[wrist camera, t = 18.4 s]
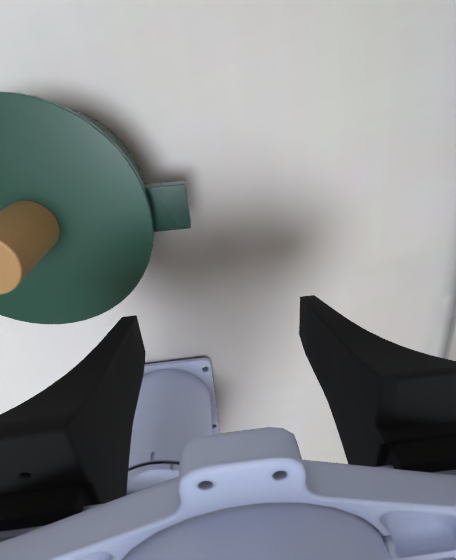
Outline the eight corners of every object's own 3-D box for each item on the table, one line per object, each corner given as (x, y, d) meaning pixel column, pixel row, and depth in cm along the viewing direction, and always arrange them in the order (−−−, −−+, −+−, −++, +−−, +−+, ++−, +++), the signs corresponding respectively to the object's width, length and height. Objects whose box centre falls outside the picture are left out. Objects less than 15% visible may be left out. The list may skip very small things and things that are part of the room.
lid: (164, 308, 21) (156, 373, 16) (-38, 319, 20) (-111, 391, 15) (140, 90, 16) (117, 89, 11) (-136, 93, 15) (-298, 92, 10)
